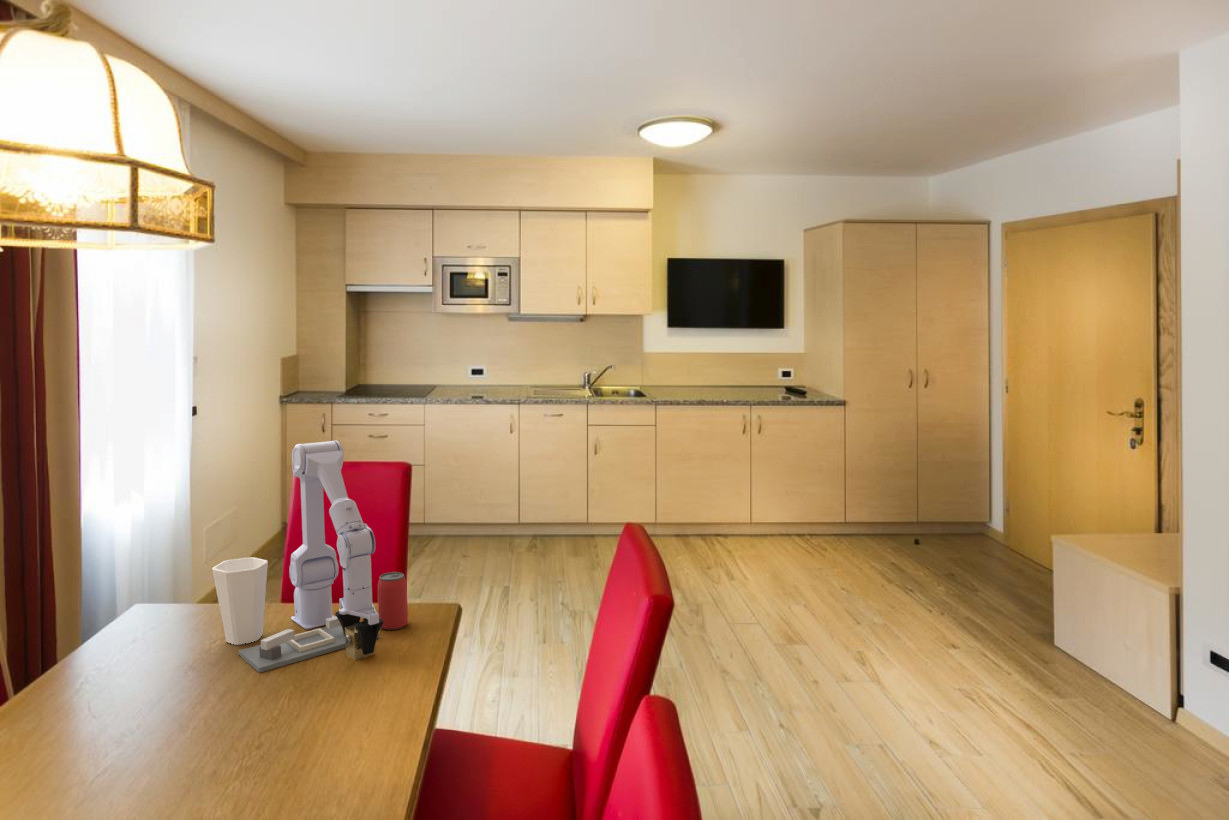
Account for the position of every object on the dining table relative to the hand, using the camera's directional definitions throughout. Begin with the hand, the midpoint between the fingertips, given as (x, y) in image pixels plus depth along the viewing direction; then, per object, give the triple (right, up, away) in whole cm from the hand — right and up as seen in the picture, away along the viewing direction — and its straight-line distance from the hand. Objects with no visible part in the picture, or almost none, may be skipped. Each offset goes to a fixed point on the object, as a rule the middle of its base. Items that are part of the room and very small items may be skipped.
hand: (360, 647), depth 170 cm
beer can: (+3, 0, +16) cm, 16 cm away
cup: (-29, -1, +9) cm, 30 cm away
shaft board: (-12, -1, +4) cm, 13 cm away
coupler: (0, -2, 0) cm, 2 cm away
